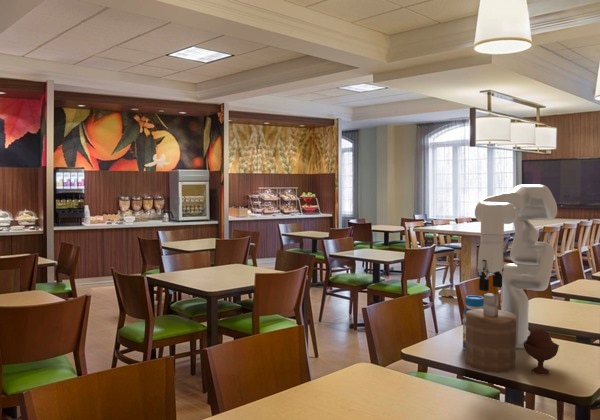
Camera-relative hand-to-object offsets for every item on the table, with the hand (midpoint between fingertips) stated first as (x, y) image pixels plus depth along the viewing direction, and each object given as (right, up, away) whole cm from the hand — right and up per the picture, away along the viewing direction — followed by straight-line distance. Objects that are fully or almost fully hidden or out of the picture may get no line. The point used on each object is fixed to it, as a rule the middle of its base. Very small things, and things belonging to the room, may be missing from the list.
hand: (490, 288), depth 189 cm
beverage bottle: (0, -26, +18) cm, 32 cm away
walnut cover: (0, -27, +2) cm, 27 cm away
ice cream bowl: (+15, -27, -6) cm, 31 cm away
